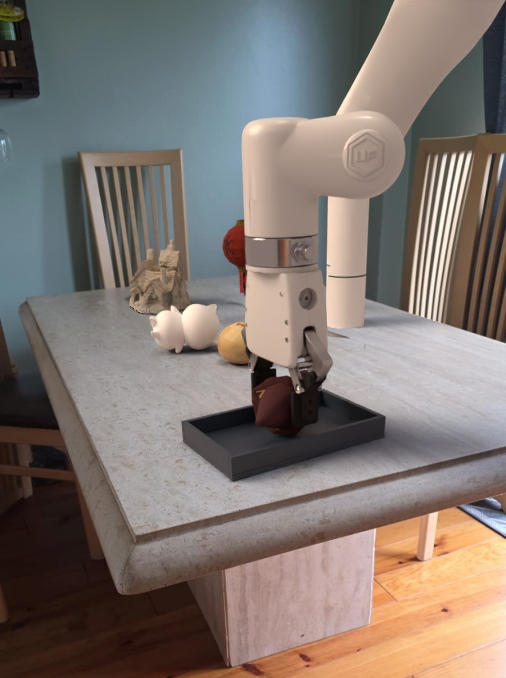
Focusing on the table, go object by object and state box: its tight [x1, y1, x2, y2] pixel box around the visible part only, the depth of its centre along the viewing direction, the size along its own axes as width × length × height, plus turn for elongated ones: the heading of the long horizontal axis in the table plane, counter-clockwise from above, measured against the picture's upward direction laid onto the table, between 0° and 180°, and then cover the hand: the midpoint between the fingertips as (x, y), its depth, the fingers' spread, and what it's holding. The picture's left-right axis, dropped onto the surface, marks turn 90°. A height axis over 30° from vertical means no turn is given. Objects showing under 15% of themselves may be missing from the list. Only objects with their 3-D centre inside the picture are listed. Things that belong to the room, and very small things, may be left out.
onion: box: [217, 320, 249, 365], centre depth 101 cm, size 8×8×7 cm
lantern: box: [221, 218, 247, 298], centre depth 122 cm, size 10×10×30 cm
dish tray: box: [180, 387, 387, 482], centre depth 72 cm, size 12×20×3 cm, turn 120°
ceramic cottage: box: [128, 239, 192, 315], centre depth 143 cm, size 16×16×15 cm
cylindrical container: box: [325, 196, 370, 339], centre depth 113 cm, size 7×7×25 cm
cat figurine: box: [149, 303, 221, 354], centre depth 110 cm, size 9×11×12 cm
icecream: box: [251, 369, 308, 435], centre depth 71 cm, size 7×7×15 cm
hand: (283, 412), depth 71 cm, fingers closed on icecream, 7 cm apart
